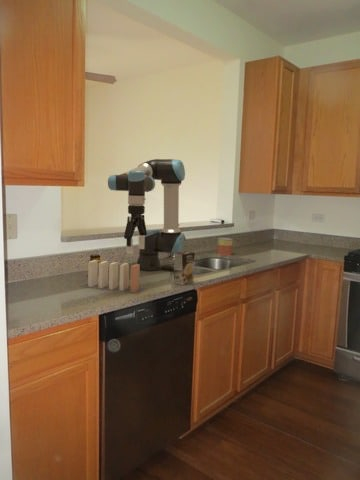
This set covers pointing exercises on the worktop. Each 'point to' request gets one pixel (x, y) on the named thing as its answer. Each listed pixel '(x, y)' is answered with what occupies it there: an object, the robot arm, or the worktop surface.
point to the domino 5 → (134, 278)
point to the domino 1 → (92, 273)
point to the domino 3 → (113, 275)
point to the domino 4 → (124, 276)
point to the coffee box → (183, 268)
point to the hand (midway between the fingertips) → (135, 251)
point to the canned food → (224, 246)
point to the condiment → (95, 258)
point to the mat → (116, 289)
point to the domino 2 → (103, 274)
